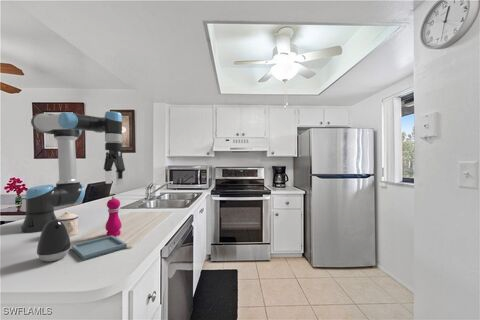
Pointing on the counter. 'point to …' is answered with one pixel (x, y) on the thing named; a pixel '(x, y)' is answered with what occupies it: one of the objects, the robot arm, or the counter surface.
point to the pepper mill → (113, 218)
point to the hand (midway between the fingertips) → (113, 184)
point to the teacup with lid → (69, 222)
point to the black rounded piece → (53, 241)
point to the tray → (98, 247)
